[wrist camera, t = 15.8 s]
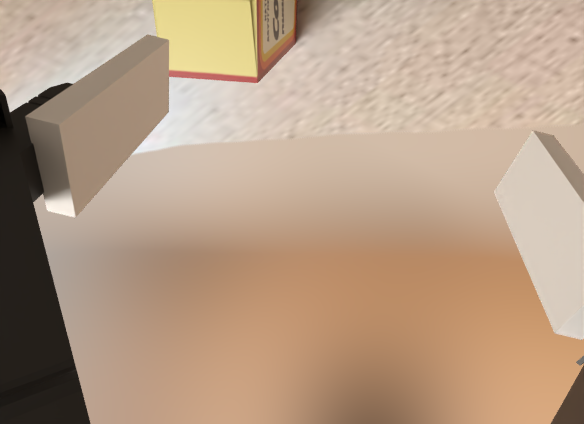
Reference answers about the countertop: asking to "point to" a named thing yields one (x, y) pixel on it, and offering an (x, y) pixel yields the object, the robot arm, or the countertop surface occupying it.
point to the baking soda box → (225, 36)
